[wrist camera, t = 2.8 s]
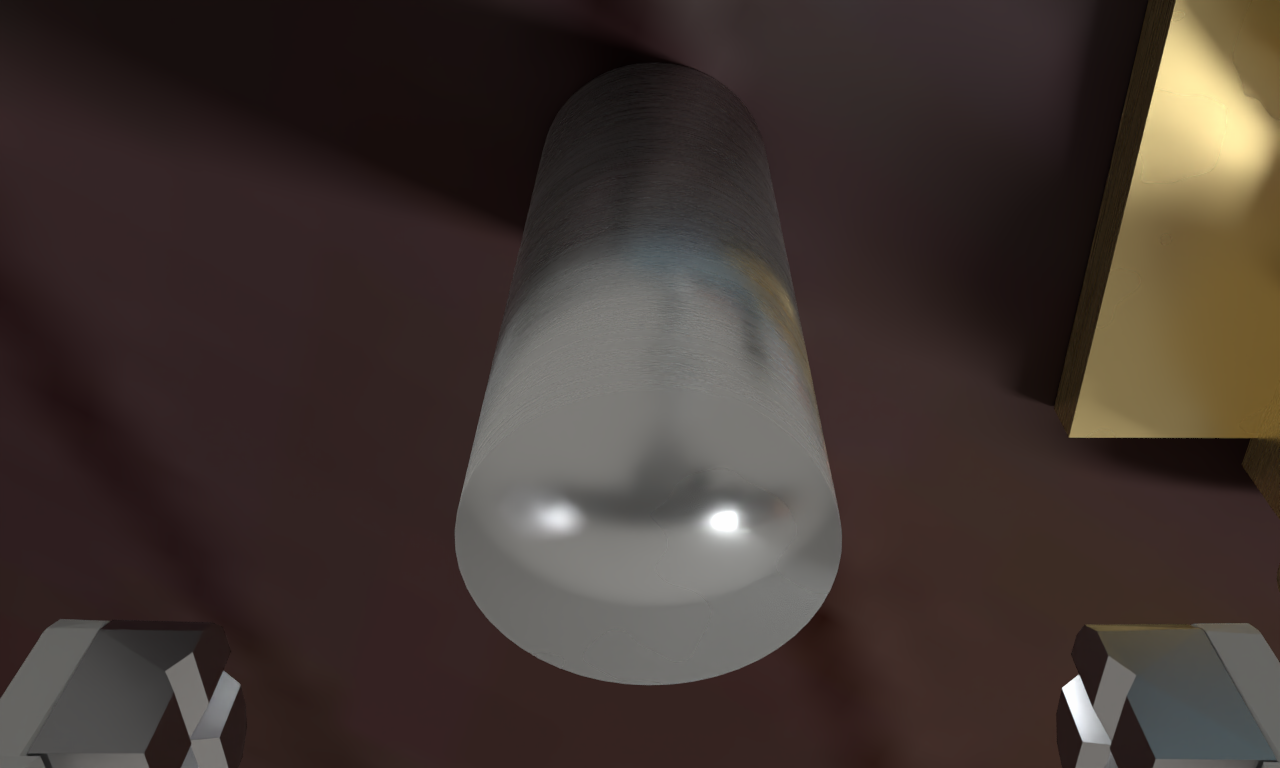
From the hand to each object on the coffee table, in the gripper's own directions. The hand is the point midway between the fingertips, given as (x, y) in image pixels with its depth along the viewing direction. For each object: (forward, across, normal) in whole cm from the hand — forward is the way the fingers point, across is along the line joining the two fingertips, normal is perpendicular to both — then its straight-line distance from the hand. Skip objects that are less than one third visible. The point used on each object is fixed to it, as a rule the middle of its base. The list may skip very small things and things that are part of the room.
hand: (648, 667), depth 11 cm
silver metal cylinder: (+11, 0, -1) cm, 11 cm away
